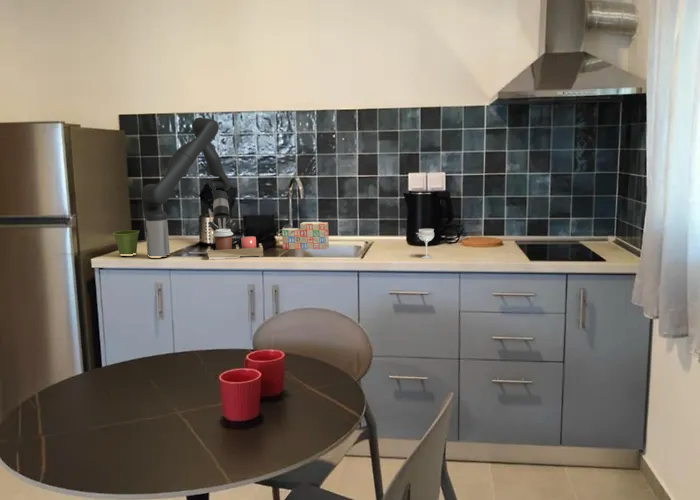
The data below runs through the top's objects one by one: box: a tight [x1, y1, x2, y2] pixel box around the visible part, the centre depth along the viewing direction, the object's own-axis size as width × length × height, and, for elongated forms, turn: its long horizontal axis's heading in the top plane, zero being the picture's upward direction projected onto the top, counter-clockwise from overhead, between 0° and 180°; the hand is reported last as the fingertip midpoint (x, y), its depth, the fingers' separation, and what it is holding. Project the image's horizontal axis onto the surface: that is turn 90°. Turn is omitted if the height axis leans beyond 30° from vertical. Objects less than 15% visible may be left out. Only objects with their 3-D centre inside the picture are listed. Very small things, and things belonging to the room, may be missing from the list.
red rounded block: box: [240, 235, 257, 249], centre depth 299 cm, size 6×6×8 cm
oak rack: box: [207, 243, 264, 258], centre depth 298 cm, size 13×24×4 cm, turn 101°
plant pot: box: [112, 230, 140, 255], centre depth 305 cm, size 12×12×11 cm
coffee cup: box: [212, 228, 234, 250], centre depth 297 cm, size 9×9×12 cm
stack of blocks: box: [281, 221, 330, 250], centre depth 313 cm, size 21×6×12 cm, turn 78°
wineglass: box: [417, 227, 435, 259], centre depth 279 cm, size 7×7×12 cm
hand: (222, 237), depth 313 cm, fingers closed
